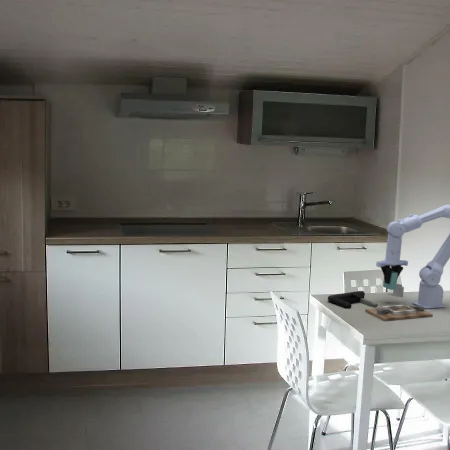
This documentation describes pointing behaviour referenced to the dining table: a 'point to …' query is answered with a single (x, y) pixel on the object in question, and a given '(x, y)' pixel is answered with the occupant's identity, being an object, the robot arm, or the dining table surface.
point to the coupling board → (399, 312)
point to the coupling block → (391, 281)
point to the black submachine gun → (350, 299)
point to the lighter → (398, 291)
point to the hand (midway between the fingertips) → (390, 283)
